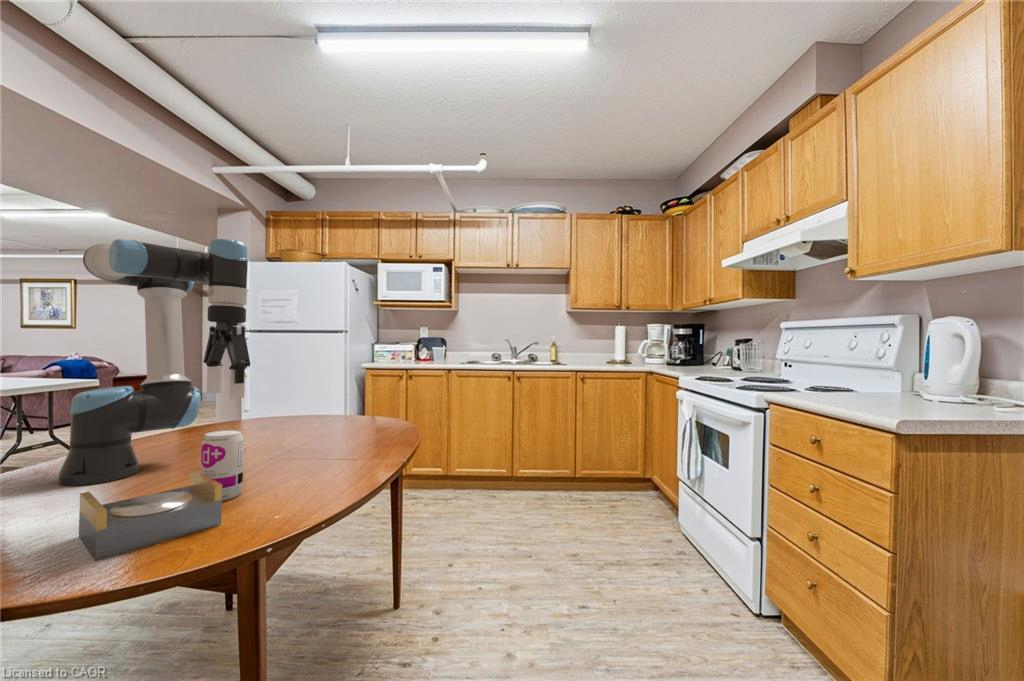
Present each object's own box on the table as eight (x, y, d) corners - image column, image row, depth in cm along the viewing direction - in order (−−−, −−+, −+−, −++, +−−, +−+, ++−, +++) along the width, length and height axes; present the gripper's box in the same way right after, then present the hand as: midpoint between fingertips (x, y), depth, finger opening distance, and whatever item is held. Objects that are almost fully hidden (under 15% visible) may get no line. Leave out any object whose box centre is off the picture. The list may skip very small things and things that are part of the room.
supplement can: (220, 504, 93) (222, 437, 93) (190, 501, 95) (192, 435, 95) (250, 492, 101) (252, 430, 101) (222, 489, 103) (223, 428, 103)
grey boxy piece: (78, 536, 77) (80, 493, 77) (195, 507, 91) (196, 470, 91) (95, 561, 69) (96, 512, 69) (220, 524, 83) (222, 484, 83)
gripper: (189, 306, 103) (187, 392, 102) (231, 301, 88) (228, 401, 88) (224, 309, 109) (222, 390, 109) (268, 305, 94) (266, 398, 94)
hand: (224, 395), depth 98 cm, fingers open, 13 cm apart
